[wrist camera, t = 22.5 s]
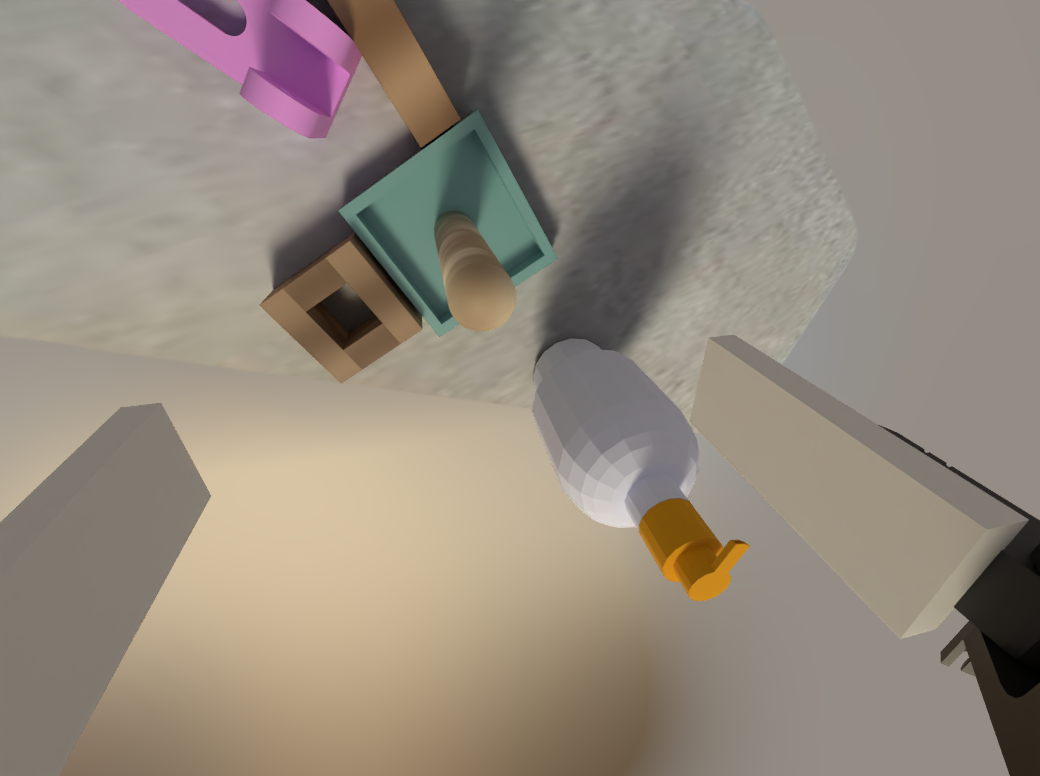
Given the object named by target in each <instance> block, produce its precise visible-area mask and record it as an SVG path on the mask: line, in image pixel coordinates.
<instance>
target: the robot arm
mask: <svg viewBox="0 0 1040 776" xmlns="http://www.w3.org/2000/svg"><path fill="white" fill-rule="evenodd" d="M690 422H691V423H692V424H693V425H694V426H695V427H696V428H697V429H698V431H699V432H700V433H701V434H702V435H703V436H704V437H705V438H706V439H707V440H708V441H709V442H710V443H711V444H712V445H713V446H714V447H715V448H716V449H717V450H718V451H719V452H720V453H721V454H722V455H723V456H724V457H725V458H726V460H728V461H729V462H730V464H731V465H732V466H733V467H734V468H735V469H736V470H737V471H738V472H739V473H740V474H741V475H742V476H743V477H744V478H745V479H746V480H747V481H748V482H749V483H750V484H751V485H752V486H753V487H754V488H755V490H756V491H757V492H758V493H759V494H760V495H761V496H762V497H763V498H764V499H765V500H766V501H767V502H768V503H769V504H770V505H771V506H772V507H773V508H774V509H775V510H776V511H777V512H778V513H779V514H780V515H781V516H782V517H783V519H784V520H785V521H786V522H787V523H788V524H789V525H790V526H791V527H792V528H793V529H794V530H795V531H796V532H797V533H798V534H799V535H800V536H801V537H802V538H803V539H804V540H805V541H806V542H807V543H808V544H809V545H810V546H811V548H813V550H814V551H815V552H816V553H817V554H818V555H819V556H820V557H821V558H822V559H823V560H824V561H825V562H826V563H827V564H828V565H829V566H830V567H831V568H832V569H833V570H834V571H835V572H836V573H837V574H838V575H839V576H840V577H841V578H842V579H843V581H845V583H846V584H847V585H848V586H849V587H850V588H851V589H852V590H853V591H854V592H855V593H856V594H857V595H858V596H859V597H860V598H861V599H862V600H863V601H864V602H865V603H866V604H867V605H868V607H869V608H870V609H871V610H872V611H873V612H874V613H875V614H876V615H877V616H878V617H879V618H880V619H881V620H882V621H883V622H884V623H885V624H886V625H887V626H888V627H889V628H890V629H891V630H892V631H893V632H894V633H895V634H896V636H897V637H898V638H899V639H903V638H906V637H910V636H913V635H916V634H920V633H924V632H928V631H931V630H934V629H936V628H937V627H938V626H939V625H940V624H941V623H942V621H943V620H944V619H945V618H946V617H947V615H948V614H949V613H950V612H951V611H952V609H954V608H956V609H957V610H958V611H959V612H960V613H961V614H963V615H964V616H965V617H966V618H967V619H968V620H969V622H968V623H967V624H966V625H965V626H964V627H963V628H962V629H961V630H960V632H959V633H958V634H957V635H956V636H955V637H954V638H953V639H952V640H951V641H950V642H949V644H948V645H947V646H946V647H945V648H944V649H943V650H942V651H941V663H942V664H944V665H947V666H950V665H951V664H952V663H953V662H954V661H955V659H957V657H958V656H959V655H960V654H961V653H962V652H963V651H967V652H968V655H969V658H968V659H967V660H966V661H965V662H964V664H963V665H962V667H961V671H963V672H965V673H968V674H971V675H973V676H976V678H977V681H978V684H979V687H980V690H981V693H982V696H983V699H984V702H985V705H986V708H987V710H988V713H989V716H990V719H991V722H992V725H993V728H994V731H995V734H996V736H997V739H998V742H999V745H1000V748H1001V751H1002V754H1003V757H1004V760H1005V763H1006V766H1007V768H1008V771H1009V775H1010V776H1040V520H1038V519H1036V518H1035V517H1033V516H1032V515H1030V514H1028V513H1027V512H1025V511H1023V510H1022V509H1020V508H1018V507H1017V506H1015V505H1014V504H1012V503H1011V502H1009V501H1007V500H1006V499H1004V498H1002V497H1001V496H999V495H998V494H996V493H994V492H993V491H991V490H989V489H988V488H986V487H985V486H983V485H981V484H980V483H978V482H976V481H975V480H973V479H972V478H970V477H968V476H967V475H965V474H963V473H962V472H960V471H959V470H957V469H955V468H954V467H948V466H947V465H946V462H944V461H943V460H941V459H939V458H938V457H936V456H934V455H933V454H931V453H925V452H924V449H923V448H921V447H920V446H918V445H916V444H915V443H913V442H911V441H910V440H908V439H906V438H905V437H903V436H902V435H900V434H898V433H897V432H894V431H892V430H889V429H887V428H885V427H882V426H880V425H877V424H876V423H874V422H872V421H871V420H869V419H868V418H866V417H864V416H862V415H861V414H859V413H858V412H856V411H855V410H853V409H852V408H850V407H848V406H847V405H845V404H844V403H842V402H840V401H839V400H837V399H836V398H834V397H832V396H831V395H829V394H828V393H826V392H824V391H823V390H821V389H820V388H818V387H816V386H815V385H813V384H812V383H810V382H808V381H807V380H805V379H804V378H802V377H801V376H799V375H797V374H796V373H794V372H793V371H791V370H789V369H788V368H786V367H785V366H783V365H781V364H780V363H778V362H777V361H775V360H773V359H772V358H770V357H769V356H767V355H765V354H764V353H762V352H761V351H759V350H757V349H756V348H754V347H753V346H751V345H749V344H748V343H746V342H745V341H743V340H741V339H740V338H738V337H737V336H735V335H728V336H719V337H711V338H708V343H707V347H706V351H705V356H704V360H703V365H702V369H701V373H700V378H699V382H698V387H697V391H696V395H695V400H694V404H693V409H692V413H691V417H690ZM210 497H211V495H210V493H209V491H208V489H207V487H206V485H205V483H204V482H203V480H202V478H201V476H200V474H199V472H198V470H197V469H196V467H195V465H194V463H193V461H192V459H191V458H190V456H189V454H188V452H187V450H186V448H185V446H184V444H183V443H182V441H181V439H180V437H179V435H178V433H177V431H176V430H175V428H174V426H173V424H172V422H171V420H170V418H169V417H168V415H167V413H166V411H165V409H164V407H163V406H162V404H161V403H156V404H147V405H139V406H131V407H122V408H120V409H119V410H118V411H117V412H116V413H115V414H113V415H112V416H111V417H110V418H109V419H108V420H107V421H106V422H105V423H104V424H103V425H102V426H101V427H100V428H99V429H98V430H97V431H96V432H95V433H94V434H93V435H92V436H90V437H89V438H88V439H87V440H86V441H85V442H84V443H83V444H82V445H81V446H80V447H79V448H78V449H77V450H76V451H75V452H74V453H73V454H72V455H71V456H70V457H69V458H68V459H67V460H65V461H64V462H63V463H62V464H61V465H60V466H59V467H58V468H57V469H56V470H55V471H54V472H53V473H52V474H51V475H50V476H48V477H47V478H46V480H44V481H43V482H42V483H41V484H40V485H39V486H38V487H37V488H36V489H35V490H34V491H33V492H32V493H31V494H30V495H29V496H28V497H26V498H25V499H24V500H23V501H22V502H21V503H20V504H19V505H18V506H17V507H16V508H15V509H14V510H13V511H12V512H11V513H10V514H9V515H8V516H7V517H6V518H4V519H3V521H1V522H0V776H58V775H59V774H60V772H61V770H62V768H63V766H64V764H65V763H66V761H67V759H68V757H69V755H70V753H71V751H72V750H73V748H74V746H75V744H76V742H77V740H78V739H79V737H80V735H81V733H82V731H83V730H84V728H85V726H86V724H87V722H88V721H89V719H90V716H91V715H92V713H93V711H94V709H95V708H96V706H97V704H98V702H99V700H100V699H101V697H102V694H103V693H104V691H105V689H106V687H107V686H108V684H109V682H110V680H111V678H112V677H113V675H114V673H115V671H116V669H117V667H118V665H119V664H120V662H121V660H122V658H123V656H124V654H125V653H126V651H127V649H128V647H129V645H130V644H131V641H132V640H133V638H134V636H135V634H136V632H137V631H138V629H139V627H140V625H141V623H142V622H143V620H144V618H145V616H146V614H147V612H148V610H149V609H150V607H151V605H152V603H153V601H154V600H155V598H156V596H157V594H158V592H159V590H160V588H161V587H162V585H163V583H164V581H165V579H166V578H167V576H168V574H169V572H170V570H171V568H172V567H173V565H174V563H175V561H176V559H177V557H178V556H179V554H180V552H181V550H182V548H183V546H184V545H185V542H186V541H187V539H188V537H189V535H190V534H191V532H192V530H193V528H194V526H195V524H196V523H197V521H198V519H199V517H200V515H201V513H202V512H203V510H204V508H205V506H206V504H207V502H208V501H209V499H210Z"/></svg>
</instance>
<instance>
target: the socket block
mask: <svg viewBox="0 0 1040 776" xmlns="http://www.w3.org/2000/svg"><path fill="white" fill-rule="evenodd" d="M346 283H348V284H349V285H350V287H351V288H352V289H353V290H354V291H355V292H356V293H357V295H358V296H359V297H360V298H361V299H362V300H363V301H364V303H365V304H366V305H367V306H368V307H369V308H370V309H371V311H372V312H373V313H374V314H375V315H374V316H373V317H371V318H370V319H368V320H367V321H365V322H364V323H362V324H361V325H360V326H358V327H357V328H355V329H354V330H352V331H351V332H348V331H347V330H346V329H345V328H344V327H343V326H342V325H341V324H340V323H339V322H338V321H337V320H336V319H335V317H334V316H333V315H332V314H331V313H330V312H329V311H328V310H327V309H326V308H325V307H324V306H323V305H322V304H321V303H320V302H321V301H322V300H323V299H325V298H326V297H328V296H329V295H331V294H332V293H333V292H335V291H336V290H338V289H339V288H341V287H342V286H343V285H345V284H346ZM260 306H261V307H262V308H263V309H264V310H265V311H266V312H267V313H268V314H269V315H270V316H271V317H272V318H273V319H274V320H275V321H276V322H277V323H278V324H279V325H281V326H282V327H283V328H284V329H285V330H286V331H287V332H288V333H289V334H290V335H291V336H292V337H293V338H294V339H295V340H296V341H297V342H298V343H299V344H300V345H301V346H302V347H303V348H305V349H306V350H307V351H308V352H309V353H310V354H311V355H312V356H313V357H314V358H315V359H316V360H317V361H318V362H319V363H320V364H321V365H322V366H323V367H324V368H325V369H326V370H328V371H329V372H330V373H331V374H332V375H333V376H334V377H335V378H336V379H337V380H338V381H339V382H340V383H343V382H344V381H346V380H347V379H349V378H350V377H352V376H353V375H355V374H356V373H358V372H359V371H361V370H362V369H364V368H365V367H367V366H368V365H370V364H371V363H373V362H374V361H376V360H377V359H379V358H380V357H382V356H383V355H385V354H386V353H387V352H389V351H390V350H392V349H393V348H395V347H396V346H398V345H399V344H401V343H402V342H404V341H405V340H407V339H408V338H410V337H411V336H413V335H414V334H416V333H417V332H419V331H420V330H422V315H421V313H420V312H419V311H418V310H417V308H416V307H415V306H414V305H413V303H412V302H411V301H410V300H409V299H408V297H407V296H406V295H405V294H404V292H403V291H402V290H401V289H400V287H399V286H398V285H397V284H396V282H395V281H394V280H393V279H392V277H391V276H390V275H389V274H388V272H387V271H386V270H385V269H384V267H383V266H382V265H381V264H380V262H379V261H378V260H377V259H376V257H375V256H374V255H373V254H372V252H371V251H370V250H369V249H368V247H367V246H366V245H365V244H364V242H363V241H362V240H361V239H360V237H359V236H358V235H357V234H356V232H354V233H352V234H351V235H350V236H348V237H347V238H345V239H344V240H343V241H341V242H340V243H338V244H337V245H336V246H334V247H333V248H331V249H330V250H329V251H327V252H326V253H324V254H323V255H322V256H320V257H319V258H317V259H316V260H315V261H313V262H312V263H310V264H309V265H308V266H306V267H305V268H303V269H302V270H301V271H299V272H298V273H296V274H295V275H294V276H292V277H291V278H289V279H288V280H287V281H285V282H284V283H282V284H281V285H280V286H278V287H277V288H275V289H274V290H273V291H272V292H271V293H270V294H269V295H268V296H267V297H266V298H265V300H264V301H263V302H262V303H261V304H260Z"/></svg>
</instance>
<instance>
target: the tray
mask: <svg viewBox="0 0 1040 776" xmlns="http://www.w3.org/2000/svg"><path fill="white" fill-rule="evenodd" d="M448 211H459V212H462V213H464V214H466V215H467V216H468V217H469V218H470V219H471V220H472V222H473V223H474V225H475V226H476V228H477V229H478V231H479V232H480V234H481V235H482V237H483V238H484V240H485V241H486V243H487V244H488V246H489V247H490V249H491V250H492V252H493V253H494V255H495V256H496V258H497V259H498V260H499V262H500V263H501V265H502V266H503V268H504V269H505V271H506V272H507V274H508V275H509V277H510V278H511V280H512V282H513V284H514V286H517V285H518V284H520V283H521V282H523V281H524V280H526V279H527V278H529V277H530V276H532V275H533V274H535V273H536V272H538V271H540V270H541V269H543V268H544V267H546V266H547V265H549V264H550V263H552V262H553V261H555V260H556V259H558V258H557V256H556V254H555V252H554V250H553V248H552V246H551V245H550V243H549V241H548V239H547V237H546V235H545V233H544V232H543V230H542V228H541V226H540V224H539V222H538V220H537V218H536V217H535V215H534V213H533V211H532V209H531V207H530V205H529V204H528V202H527V200H526V198H525V196H524V194H523V192H522V191H521V189H520V187H519V185H518V183H517V181H516V179H515V178H514V176H513V174H512V172H511V170H510V168H509V166H508V165H507V163H506V161H505V159H504V157H503V155H502V153H501V151H500V150H499V148H498V146H497V144H496V142H495V140H494V138H493V137H492V135H491V133H490V131H489V129H488V127H487V125H486V124H485V122H484V120H483V118H482V116H481V114H480V112H479V111H478V110H476V111H474V112H472V113H471V114H470V115H468V116H467V117H465V118H464V119H463V120H461V121H460V122H459V123H457V124H456V125H454V126H453V127H452V128H450V129H449V130H447V131H446V132H445V133H443V134H442V135H441V136H439V137H438V138H436V139H435V140H434V141H432V142H431V143H430V144H428V145H427V146H425V147H424V148H423V149H421V150H420V151H419V152H417V153H416V154H414V155H413V156H412V157H410V158H409V159H407V160H406V161H405V162H403V163H402V164H401V165H399V166H398V167H396V168H395V169H394V170H392V171H391V172H390V173H388V174H387V175H385V176H384V177H383V178H381V179H380V180H378V181H377V182H376V183H374V184H373V185H372V186H370V187H369V188H367V189H366V190H365V191H363V192H362V193H361V194H359V195H358V196H356V197H355V198H354V199H352V200H351V201H350V202H348V203H347V204H345V205H344V206H343V207H342V208H341V209H340V210H339V212H340V214H341V215H342V216H343V217H344V219H345V220H346V221H347V222H348V224H349V225H350V226H351V227H352V229H353V230H354V231H355V232H356V234H357V235H358V236H359V237H360V239H361V240H362V241H363V242H364V244H365V245H366V246H367V247H368V249H369V250H370V251H371V252H372V254H373V255H374V256H375V257H376V259H377V260H378V261H379V262H380V264H381V265H382V266H383V267H384V269H385V270H386V271H387V272H388V274H389V275H390V276H391V277H392V279H393V280H394V281H395V282H396V284H397V285H398V286H399V287H400V289H401V290H402V291H403V292H404V294H405V295H406V296H407V297H408V299H409V300H410V301H411V302H412V303H413V305H414V306H415V307H416V308H417V310H418V311H419V312H420V313H421V315H422V316H423V317H424V318H425V320H426V321H427V322H428V323H429V325H430V326H431V327H432V328H433V330H434V331H435V332H436V333H437V335H438V336H439V337H440V336H442V335H443V334H445V333H446V332H448V331H449V330H451V329H452V328H454V327H455V326H457V325H458V324H459V323H458V322H457V321H456V320H455V319H454V317H453V316H452V314H451V312H450V309H449V306H448V301H447V296H446V291H445V286H444V281H443V276H442V272H441V267H440V262H439V257H438V252H437V247H436V242H435V237H434V226H435V223H436V221H437V219H438V218H439V217H440V216H441V215H442V214H444V213H446V212H448Z"/></svg>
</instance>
